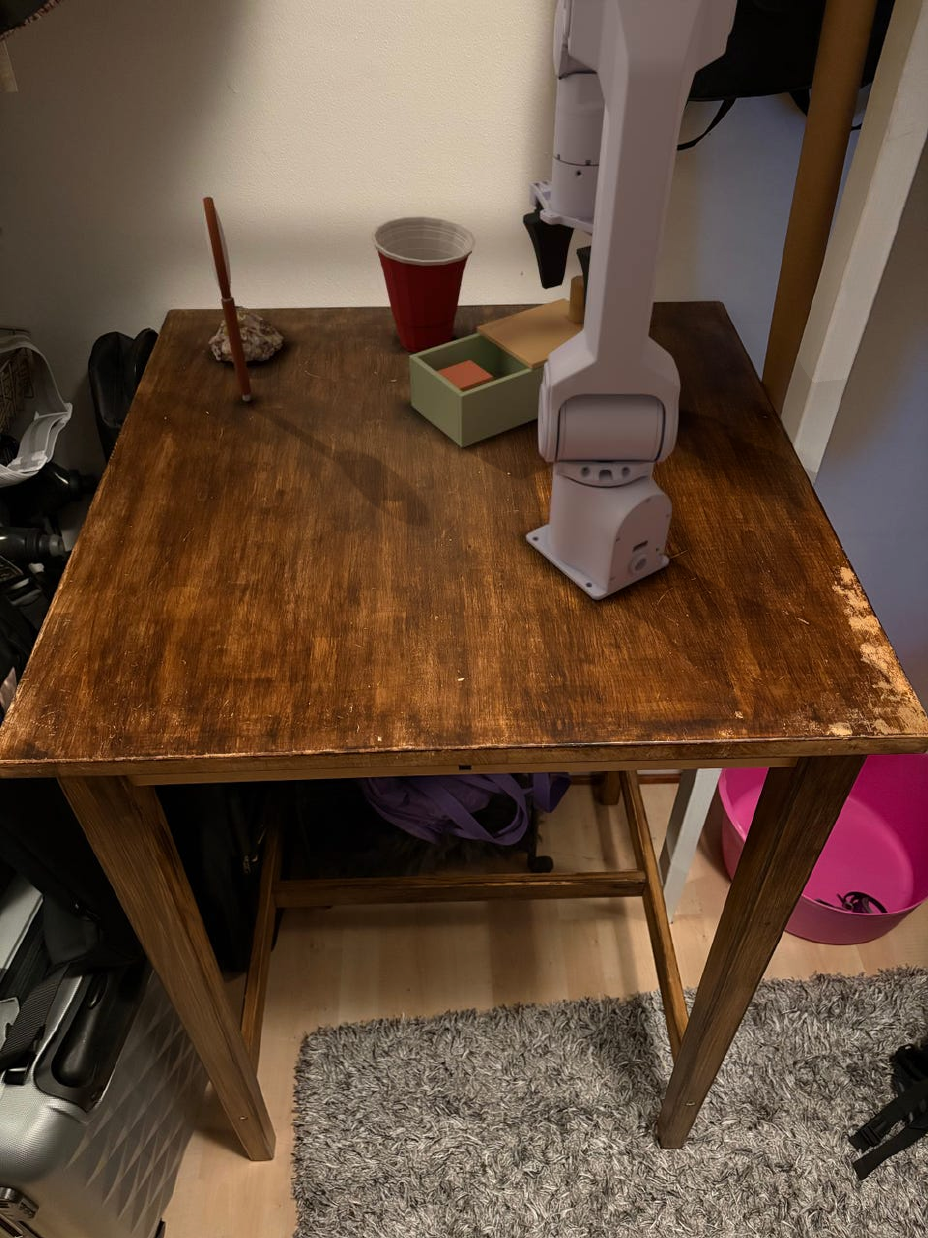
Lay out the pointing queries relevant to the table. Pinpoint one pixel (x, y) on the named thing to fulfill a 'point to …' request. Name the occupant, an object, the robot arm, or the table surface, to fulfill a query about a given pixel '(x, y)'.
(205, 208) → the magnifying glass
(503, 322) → the lid
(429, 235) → the plastic cup
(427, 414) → the box
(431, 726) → the table surface
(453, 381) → the block
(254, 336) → the mineral rock
